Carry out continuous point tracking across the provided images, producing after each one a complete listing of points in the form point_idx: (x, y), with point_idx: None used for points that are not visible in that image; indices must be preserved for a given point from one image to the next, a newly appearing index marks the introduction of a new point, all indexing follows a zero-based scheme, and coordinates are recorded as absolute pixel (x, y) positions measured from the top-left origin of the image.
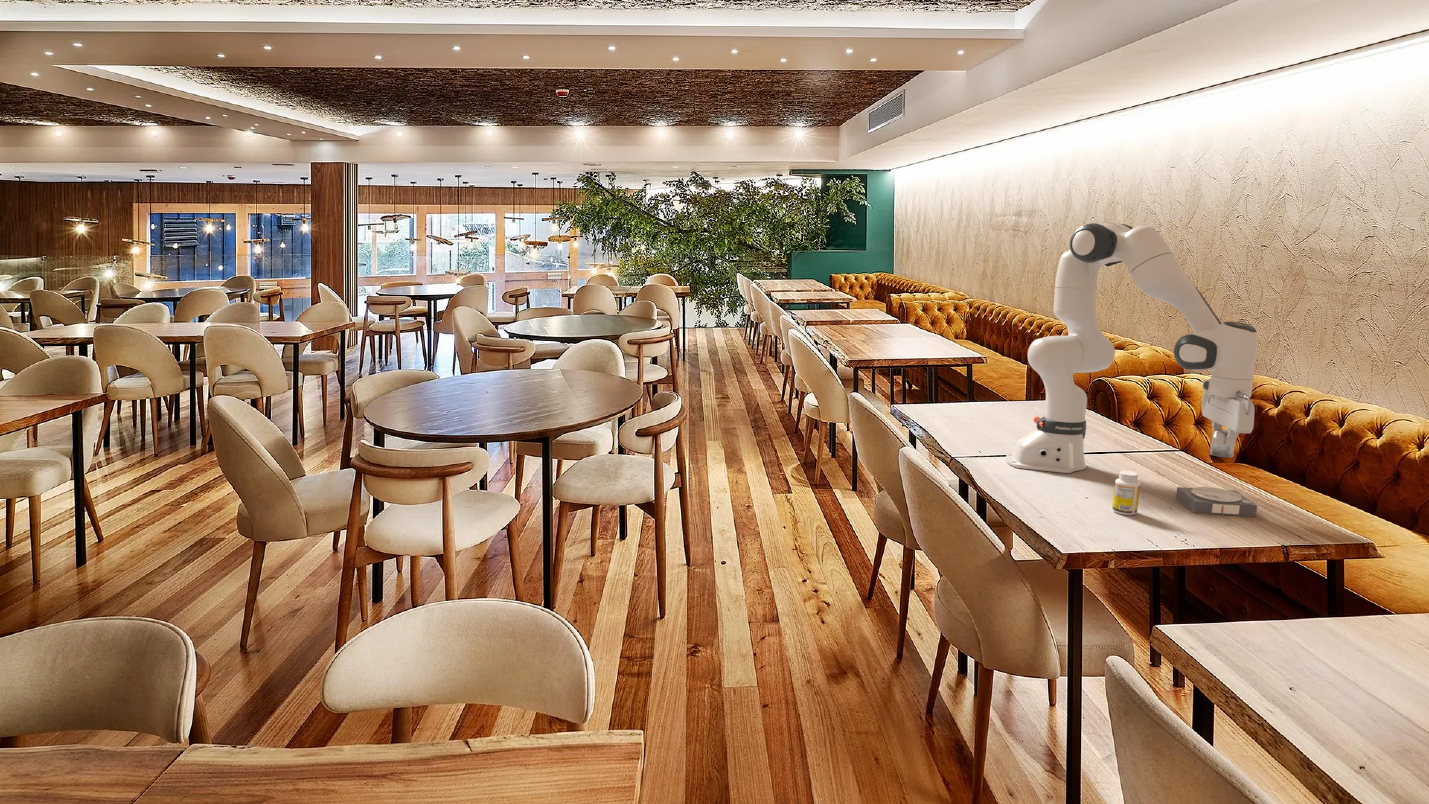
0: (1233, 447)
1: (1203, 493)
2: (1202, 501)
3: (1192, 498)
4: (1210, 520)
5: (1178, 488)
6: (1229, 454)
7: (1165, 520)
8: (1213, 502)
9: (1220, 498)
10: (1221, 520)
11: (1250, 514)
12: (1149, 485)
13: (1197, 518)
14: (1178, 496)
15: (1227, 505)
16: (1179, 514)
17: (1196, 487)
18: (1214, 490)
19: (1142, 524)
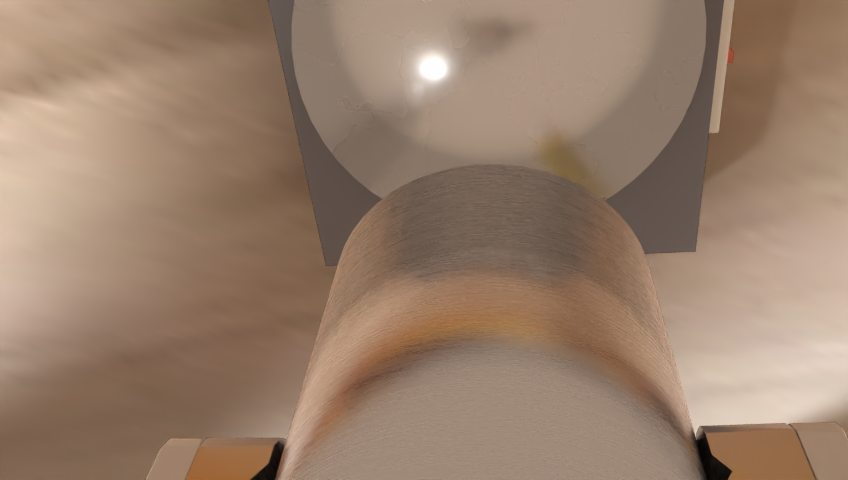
0: (634, 316)
1: (519, 164)
2: (688, 204)
3: None
4: (838, 142)
5: None
6: (651, 285)
7: (844, 381)
8: (706, 133)
9: (647, 71)
10: (836, 66)
11: None
12: (103, 293)
13: (796, 210)
14: None
15: (728, 21)
16: (718, 287)
17: (346, 167)
18: (391, 46)
19: None
